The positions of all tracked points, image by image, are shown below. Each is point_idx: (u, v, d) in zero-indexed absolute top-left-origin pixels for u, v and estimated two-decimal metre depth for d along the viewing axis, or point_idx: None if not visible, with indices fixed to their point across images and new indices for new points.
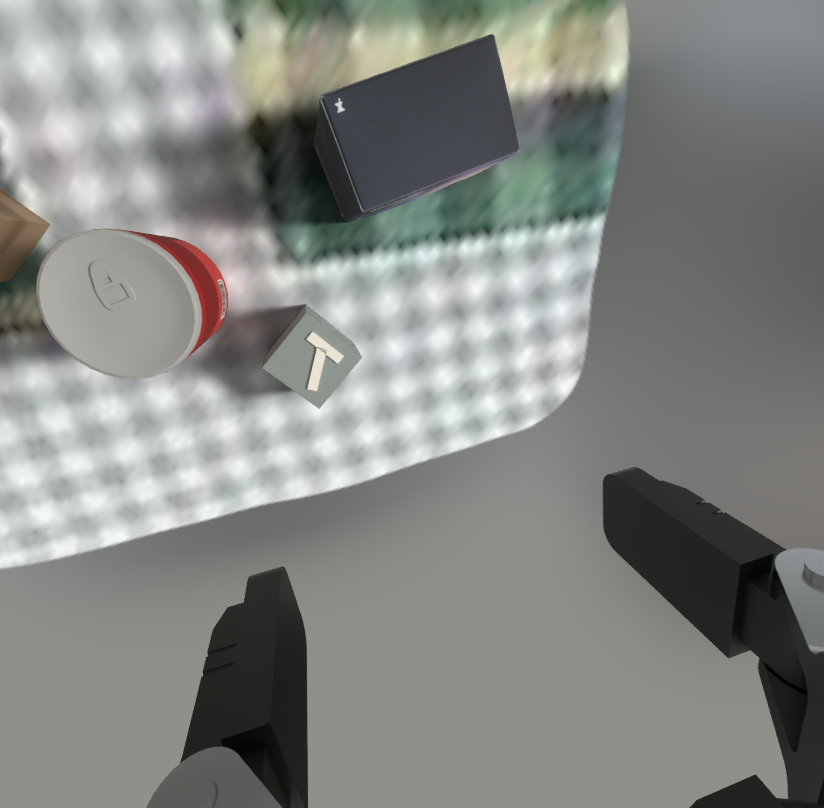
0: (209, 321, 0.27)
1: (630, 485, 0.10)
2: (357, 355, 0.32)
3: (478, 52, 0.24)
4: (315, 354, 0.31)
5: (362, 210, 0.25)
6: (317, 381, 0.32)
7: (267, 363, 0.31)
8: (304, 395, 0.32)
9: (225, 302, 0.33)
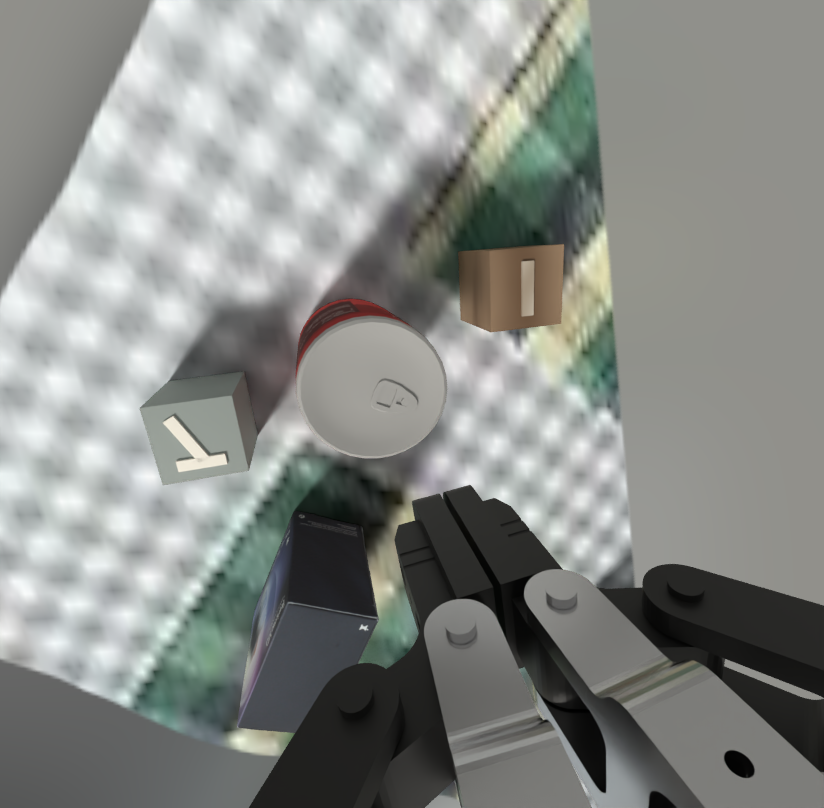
0: None
1: (454, 504, 0.10)
2: (168, 482, 0.27)
3: None
4: (202, 448, 0.27)
5: (289, 602, 0.26)
6: (173, 430, 0.26)
7: (231, 403, 0.26)
8: (168, 407, 0.25)
9: None
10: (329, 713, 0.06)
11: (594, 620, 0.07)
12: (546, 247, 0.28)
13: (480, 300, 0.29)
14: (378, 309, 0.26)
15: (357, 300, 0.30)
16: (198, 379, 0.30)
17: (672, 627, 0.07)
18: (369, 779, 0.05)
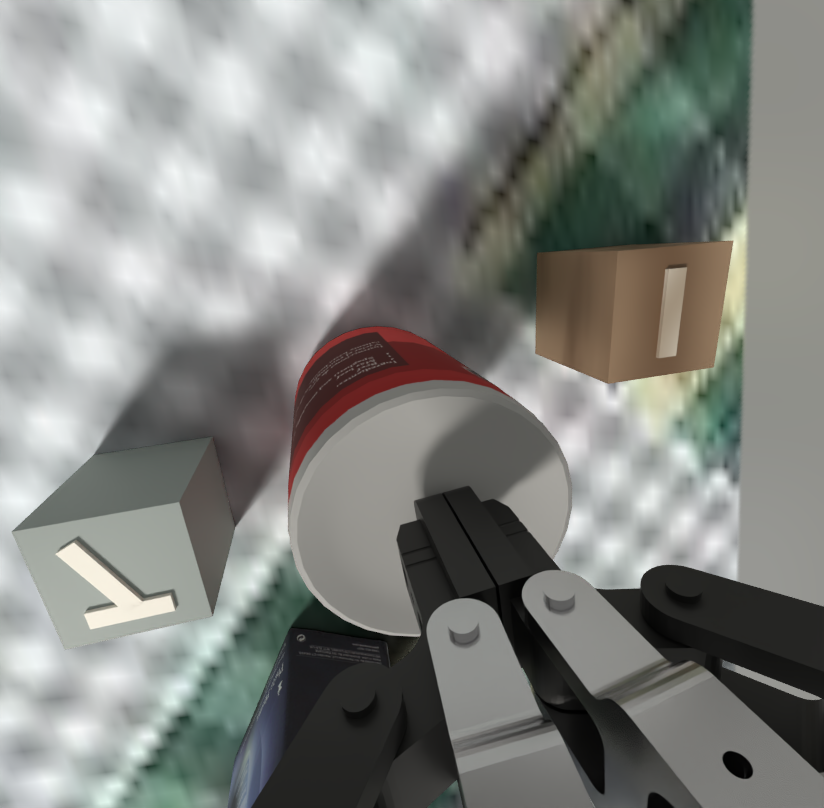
0: None
1: (452, 504, 0.10)
2: (74, 645, 0.16)
3: None
4: (132, 588, 0.16)
5: None
6: (76, 565, 0.15)
7: (179, 514, 0.15)
8: (65, 526, 0.14)
9: None
10: (332, 712, 0.06)
11: (592, 621, 0.07)
12: (706, 245, 0.17)
13: (585, 330, 0.18)
14: (433, 353, 0.15)
15: (388, 330, 0.19)
16: (138, 453, 0.19)
17: (670, 628, 0.07)
18: (372, 778, 0.05)
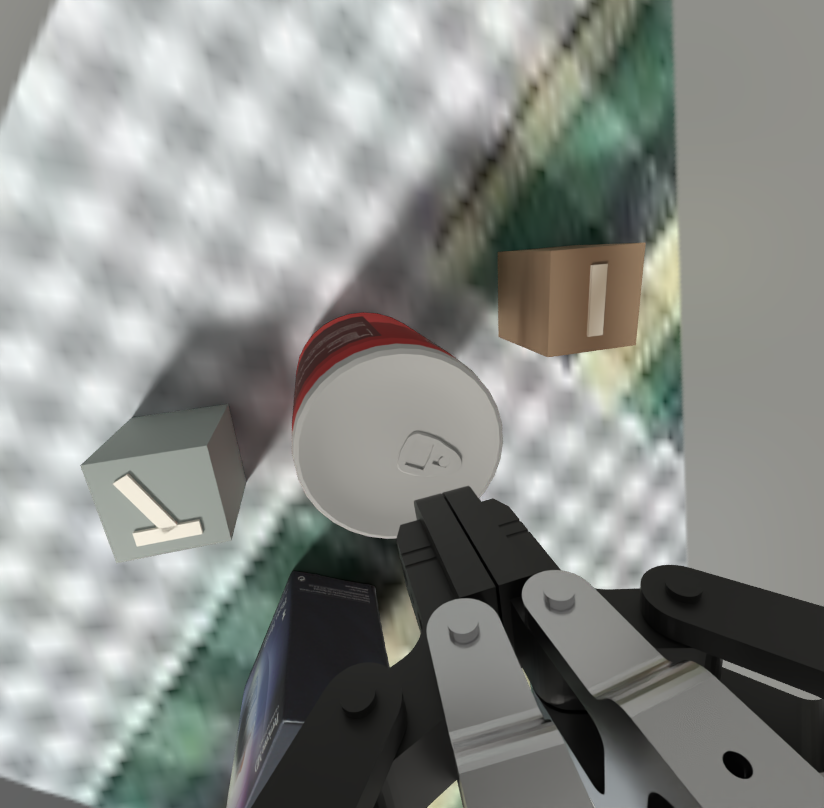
0: None
1: (452, 504, 0.10)
2: (124, 559, 0.20)
3: None
4: (169, 514, 0.20)
5: (285, 721, 0.20)
6: (127, 493, 0.19)
7: (207, 455, 0.20)
8: (120, 462, 0.19)
9: None
10: (332, 712, 0.06)
11: (592, 621, 0.07)
12: (623, 246, 0.21)
13: (531, 314, 0.23)
14: (403, 329, 0.19)
15: (372, 315, 0.23)
16: (168, 416, 0.24)
17: (670, 628, 0.07)
18: (372, 778, 0.05)
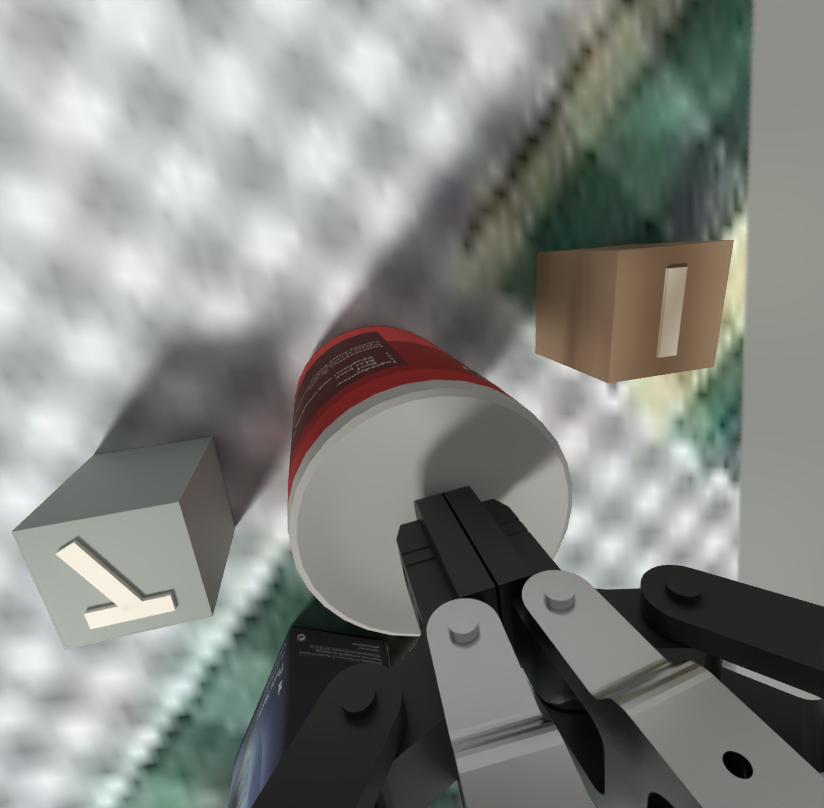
0: None
1: (452, 504, 0.10)
2: (74, 644, 0.16)
3: None
4: (132, 588, 0.16)
5: None
6: (76, 565, 0.15)
7: (179, 514, 0.15)
8: (65, 526, 0.14)
9: None
10: (332, 712, 0.06)
11: (592, 621, 0.07)
12: (706, 245, 0.17)
13: (585, 329, 0.18)
14: (432, 352, 0.15)
15: (388, 329, 0.19)
16: (138, 453, 0.19)
17: (670, 628, 0.07)
18: (372, 779, 0.05)
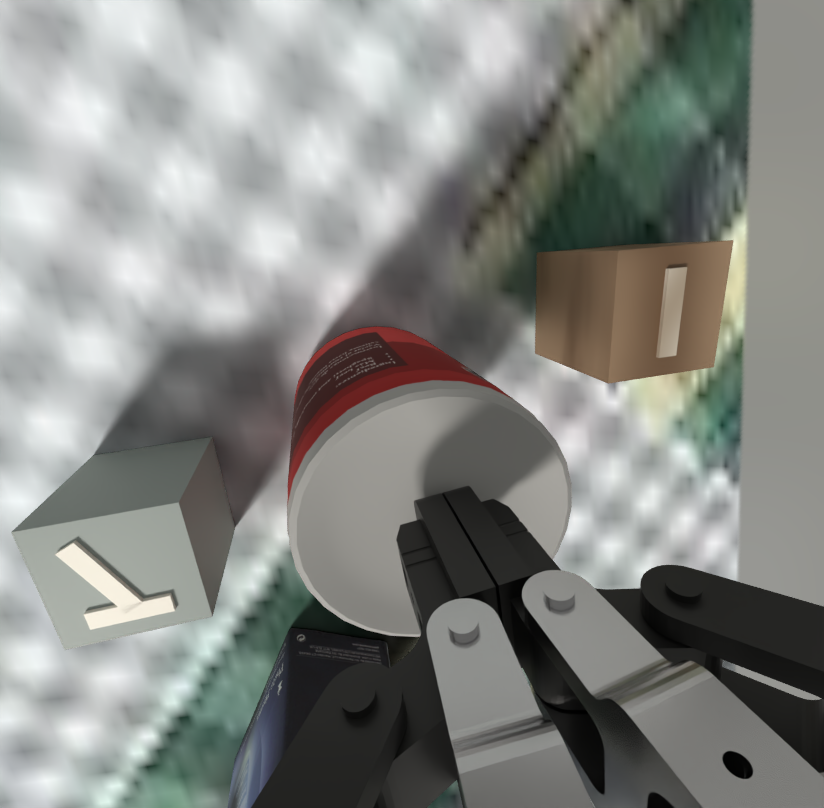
0: None
1: (452, 504, 0.10)
2: (74, 645, 0.16)
3: None
4: (131, 589, 0.16)
5: None
6: (75, 565, 0.15)
7: (179, 515, 0.15)
8: (64, 527, 0.14)
9: None
10: (332, 712, 0.06)
11: (592, 621, 0.07)
12: (706, 245, 0.17)
13: (585, 330, 0.18)
14: (432, 353, 0.15)
15: (387, 330, 0.19)
16: (138, 454, 0.19)
17: (670, 628, 0.07)
18: (372, 779, 0.05)
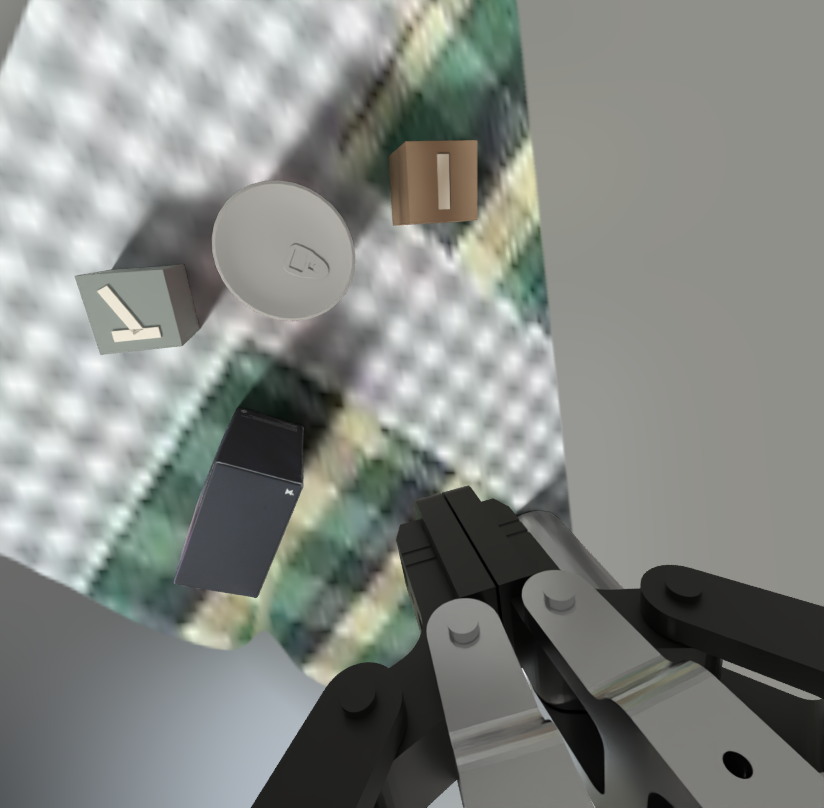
0: None
1: (452, 504, 0.10)
2: (105, 352, 0.29)
3: (253, 585, 0.33)
4: (137, 320, 0.29)
5: (217, 462, 0.29)
6: (107, 300, 0.28)
7: (163, 277, 0.28)
8: (102, 276, 0.27)
9: None
10: (332, 712, 0.06)
11: (592, 621, 0.07)
12: (460, 142, 0.30)
13: (402, 196, 0.32)
14: None
15: None
16: None
17: (670, 628, 0.07)
18: (372, 778, 0.05)
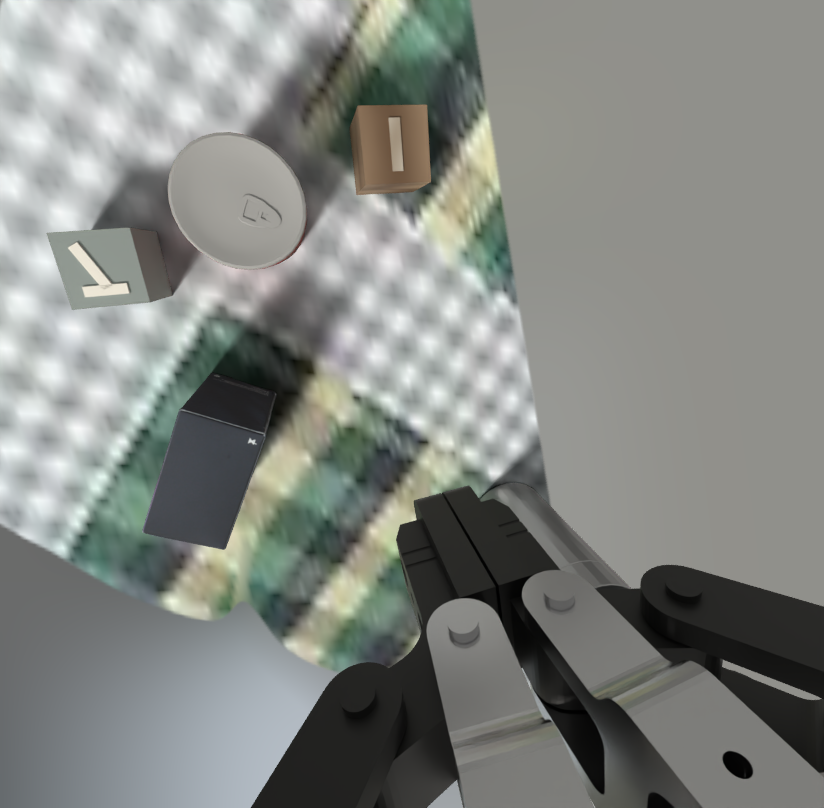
0: None
1: (452, 504, 0.10)
2: (77, 307, 0.31)
3: (220, 536, 0.34)
4: (106, 277, 0.30)
5: (181, 409, 0.30)
6: (77, 256, 0.30)
7: (130, 235, 0.30)
8: (72, 233, 0.29)
9: None
10: (332, 712, 0.06)
11: (592, 621, 0.07)
12: (410, 106, 0.31)
13: (359, 160, 0.33)
14: None
15: None
16: None
17: (670, 628, 0.07)
18: (372, 778, 0.05)
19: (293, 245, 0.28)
